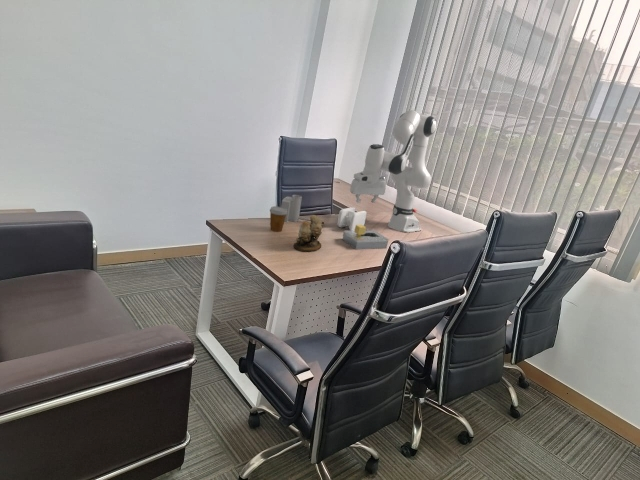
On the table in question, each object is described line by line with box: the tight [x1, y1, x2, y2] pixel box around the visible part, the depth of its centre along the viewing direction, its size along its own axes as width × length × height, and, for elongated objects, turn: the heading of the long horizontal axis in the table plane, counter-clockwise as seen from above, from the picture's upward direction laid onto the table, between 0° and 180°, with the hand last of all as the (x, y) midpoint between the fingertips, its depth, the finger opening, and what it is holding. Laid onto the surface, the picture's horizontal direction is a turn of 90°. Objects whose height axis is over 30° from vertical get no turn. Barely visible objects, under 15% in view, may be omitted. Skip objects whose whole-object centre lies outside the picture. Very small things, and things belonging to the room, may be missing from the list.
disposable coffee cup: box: [269, 206, 287, 233], centre depth 218 cm, size 10×10×12 cm
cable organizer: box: [336, 206, 367, 231], centre depth 241 cm, size 15×11×12 cm
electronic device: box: [280, 194, 325, 225], centre depth 237 cm, size 12×26×15 cm, turn 81°
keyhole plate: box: [342, 229, 389, 250], centre depth 221 cm, size 20×14×5 cm
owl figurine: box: [293, 214, 323, 253], centre depth 201 cm, size 18×12×17 cm, turn 148°
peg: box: [354, 225, 367, 236], centre depth 217 cm, size 4×4×10 cm
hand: (365, 202), depth 213 cm, fingers open, 8 cm apart
